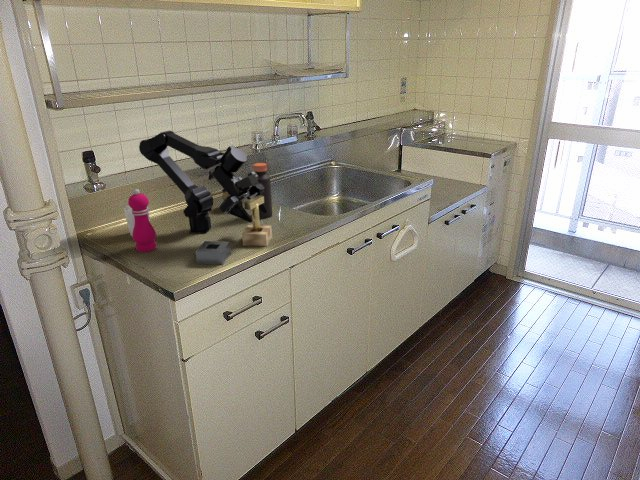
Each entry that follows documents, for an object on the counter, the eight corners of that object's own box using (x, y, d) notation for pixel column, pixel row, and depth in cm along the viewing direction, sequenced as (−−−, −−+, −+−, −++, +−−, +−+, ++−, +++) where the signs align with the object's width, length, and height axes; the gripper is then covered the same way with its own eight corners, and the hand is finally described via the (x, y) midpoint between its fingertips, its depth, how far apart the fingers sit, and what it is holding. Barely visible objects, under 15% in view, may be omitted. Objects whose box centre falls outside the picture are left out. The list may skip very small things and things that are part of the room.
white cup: (129, 239, 161) (124, 212, 157) (128, 232, 168) (123, 205, 164) (153, 235, 164) (149, 208, 160) (151, 228, 170) (147, 202, 167)
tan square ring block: (242, 245, 154) (241, 233, 153) (249, 235, 162) (248, 225, 160) (266, 245, 153) (265, 234, 152) (272, 236, 161) (271, 225, 159)
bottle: (264, 211, 185) (261, 161, 178) (276, 215, 181) (273, 164, 173) (251, 215, 181) (247, 164, 173) (262, 219, 177) (258, 167, 169)
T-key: (253, 245, 154) (250, 203, 148) (247, 244, 155) (244, 202, 149) (266, 237, 161) (264, 196, 155) (260, 235, 162) (257, 195, 156)
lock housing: (197, 263, 142) (195, 251, 140) (206, 252, 149) (204, 241, 148) (222, 264, 141) (221, 252, 139) (230, 253, 148) (229, 241, 147)
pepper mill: (144, 254, 149) (134, 193, 141) (130, 249, 153) (118, 190, 145) (162, 246, 155) (153, 187, 147) (148, 242, 158) (138, 184, 151)
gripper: (223, 172, 142) (257, 211, 142) (257, 159, 157) (288, 194, 157) (206, 194, 148) (237, 232, 148) (240, 179, 164) (269, 213, 163)
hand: (259, 217), depth 154 cm, fingers open, 9 cm apart
